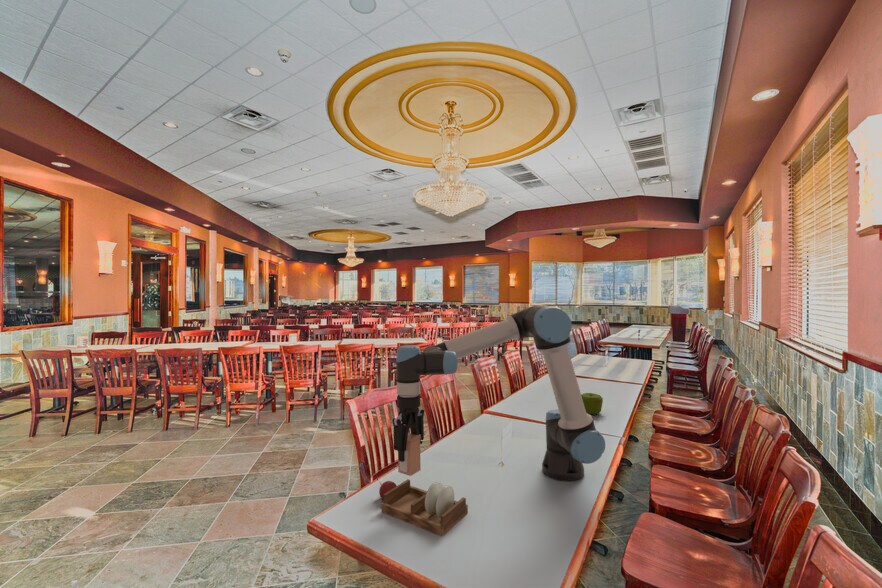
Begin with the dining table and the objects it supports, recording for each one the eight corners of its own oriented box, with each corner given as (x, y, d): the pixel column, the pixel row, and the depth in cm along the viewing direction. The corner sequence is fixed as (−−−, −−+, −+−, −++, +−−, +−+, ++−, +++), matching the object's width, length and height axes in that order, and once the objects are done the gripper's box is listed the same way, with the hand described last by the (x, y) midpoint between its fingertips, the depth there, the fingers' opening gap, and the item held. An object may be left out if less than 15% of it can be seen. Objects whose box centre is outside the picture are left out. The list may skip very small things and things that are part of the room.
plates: (454, 510, 119) (454, 481, 119) (437, 524, 112) (437, 493, 112) (442, 505, 122) (441, 477, 122) (424, 519, 114) (424, 489, 114)
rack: (467, 512, 119) (467, 496, 119) (442, 536, 108) (441, 518, 108) (409, 492, 132) (409, 478, 132) (381, 511, 121) (381, 495, 121)
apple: (577, 409, 225) (577, 390, 225) (599, 410, 223) (599, 390, 223) (582, 416, 212) (581, 395, 213) (605, 416, 211) (605, 396, 211)
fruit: (391, 499, 132) (383, 475, 135) (402, 494, 129) (393, 471, 132) (378, 506, 128) (370, 482, 130) (389, 502, 125) (380, 477, 127)
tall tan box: (408, 465, 127) (408, 432, 127) (421, 470, 124) (421, 435, 124) (397, 472, 123) (397, 437, 123) (410, 476, 120) (410, 440, 120)
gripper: (416, 387, 133) (417, 455, 133) (380, 399, 118) (381, 475, 118) (434, 390, 129) (435, 460, 129) (399, 402, 114) (399, 481, 114)
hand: (409, 467), depth 123 cm, fingers closed on tall tan box, 5 cm apart
